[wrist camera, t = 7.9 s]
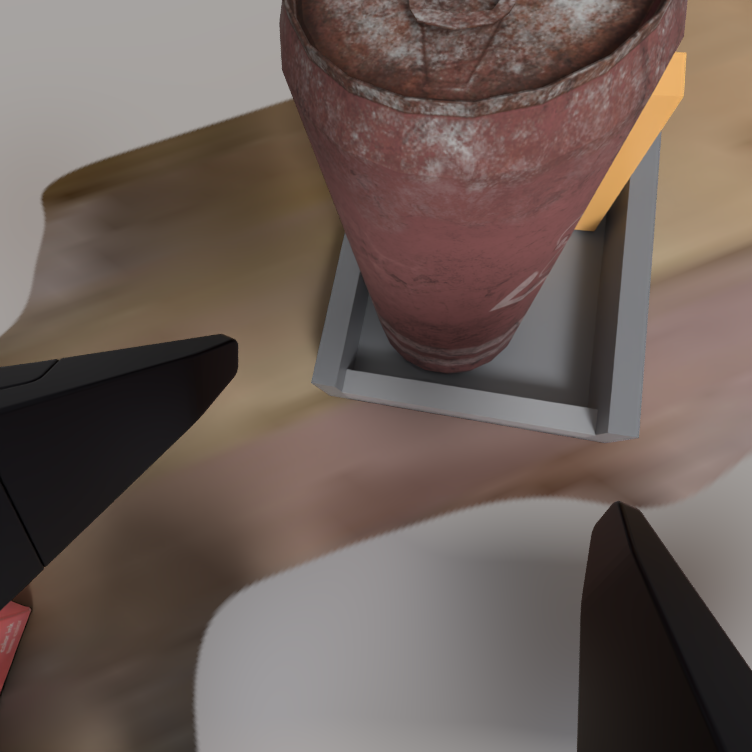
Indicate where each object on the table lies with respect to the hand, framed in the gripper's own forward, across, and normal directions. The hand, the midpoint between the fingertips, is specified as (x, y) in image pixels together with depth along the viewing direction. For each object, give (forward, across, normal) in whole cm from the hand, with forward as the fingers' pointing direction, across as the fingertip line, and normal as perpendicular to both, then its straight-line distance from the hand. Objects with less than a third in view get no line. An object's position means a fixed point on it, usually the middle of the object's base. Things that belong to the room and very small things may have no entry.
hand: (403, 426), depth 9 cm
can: (+11, +1, +2) cm, 11 cm away
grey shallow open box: (+13, 0, 0) cm, 13 cm away
